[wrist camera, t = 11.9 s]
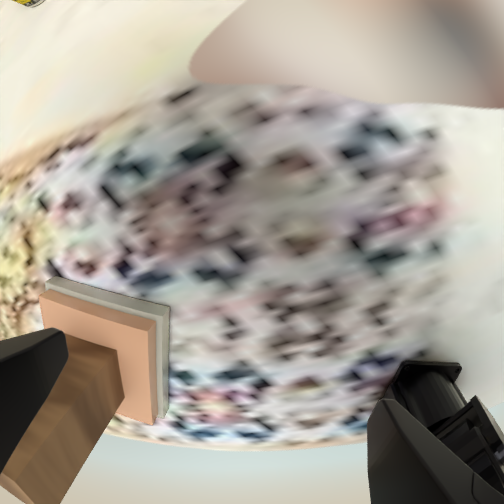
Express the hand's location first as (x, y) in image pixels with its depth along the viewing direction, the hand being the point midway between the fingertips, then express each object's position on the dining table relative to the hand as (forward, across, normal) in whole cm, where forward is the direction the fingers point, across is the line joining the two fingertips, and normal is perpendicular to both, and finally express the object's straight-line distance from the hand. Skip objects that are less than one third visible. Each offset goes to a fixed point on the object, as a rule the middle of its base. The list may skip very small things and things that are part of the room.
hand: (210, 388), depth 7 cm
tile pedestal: (+13, +11, +11) cm, 20 cm away
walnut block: (+10, +11, +11) cm, 18 cm away
